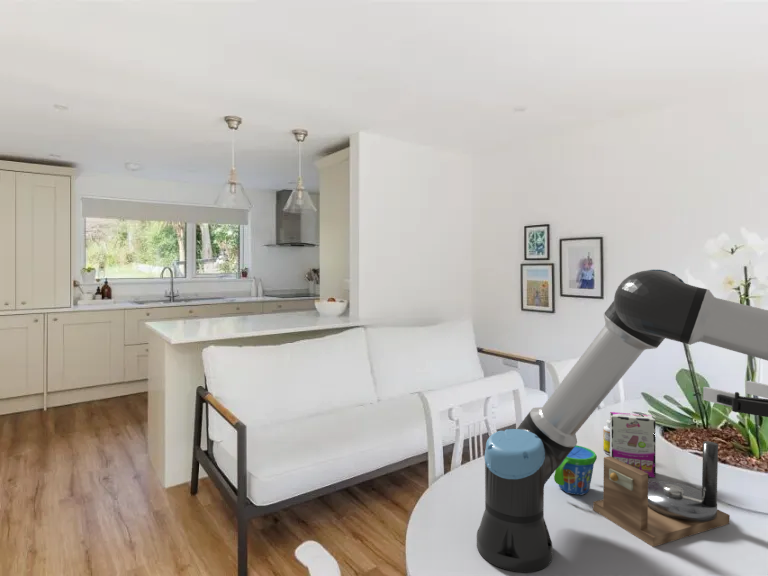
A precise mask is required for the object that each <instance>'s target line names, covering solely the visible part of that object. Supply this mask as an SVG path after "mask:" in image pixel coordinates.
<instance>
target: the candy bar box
mask: <svg viewBox="0 0 768 576" xmlns="http://www.w3.org/2000/svg"><path fill="white" fill-rule="evenodd" d="M639 414H640V413H628V412H627V413H626V412H615V411H610V413H609V418H610V419H609V420H610V455H609V456H611V457H613V458H615V459H618V460H620V461H622V462H624V463H626V464H628V465H631V466H633V467H635V468H637V469H639V470H642V471H644V472H646V473H648V478H656V441H657V440H656V437H655V435H654V434H655V433H656V419H655V417H654V416H653V415H651V414H642V415H643V416H644V417H642V416H641V415H639ZM653 433H654V434H653Z"/></svg>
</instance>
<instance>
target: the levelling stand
mask: <svg viewBox="0 0 768 576" xmlns="http://www.w3.org/2000/svg"><path fill="white" fill-rule="evenodd" d="M648 483H649V477H648V473H646V472H644V471H642V470H639V469H637V468H635V467H633V466H631V465H628V464H626V463H624V462H622V461H620V460H618V459H615V458H613V457H611V456H610V455H608V456H604V457H603V494H602V495H603V497H602V498H603V499H600V500H599V499H598V500H595V501H592V502H593V503H592V510H593V511H594V512H596V513H597V514H599V515H601V516H602V517H604V518H606V519H607V520H608V521H610V522H612V523H613V524H615V525H617V526H618V527H620V528H622V529H624V530H625V531H626V532H628V533H630V534H631V535H633V536H635V537H636V538H638V539H639V540H641V541H642V542H644V543H646V544H648V545H649V546H651V547H652V548H653V547H657V546H660V545H664V544H668V543H671V542H673V541H677V540H680V539H685V538H687V537H690V536H694V535H696V534H700V533H703V532H707V531H710V530H714V529H715V528H720V527H723V526H726V525H727V526H728V525H730V521H731V520H730V518H731V515H730V514H728V513H726V512H724V511H722V510H720V509H718V508H717V516H716V518H714V519H713V520H710V521H703V522H696V521H687V520H681V519H677V518H673V517H670V516H667V515H664V514H662V513H659V512H657V511H655V510H654V509H652V508H650V507H649V506H648Z"/></svg>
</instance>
